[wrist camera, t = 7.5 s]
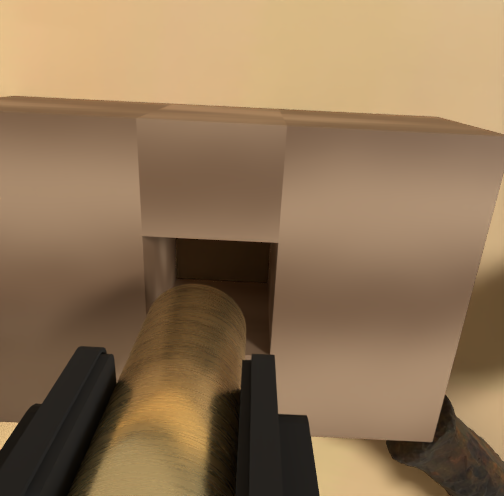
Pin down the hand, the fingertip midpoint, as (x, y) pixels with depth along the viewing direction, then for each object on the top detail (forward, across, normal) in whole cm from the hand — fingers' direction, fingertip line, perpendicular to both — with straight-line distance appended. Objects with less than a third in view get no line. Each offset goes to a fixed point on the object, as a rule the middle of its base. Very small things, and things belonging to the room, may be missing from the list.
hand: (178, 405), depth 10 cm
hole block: (+11, 0, 0) cm, 11 cm away
